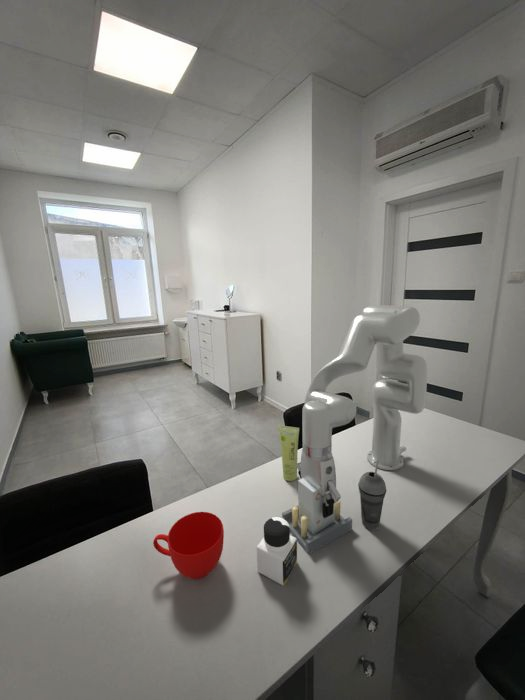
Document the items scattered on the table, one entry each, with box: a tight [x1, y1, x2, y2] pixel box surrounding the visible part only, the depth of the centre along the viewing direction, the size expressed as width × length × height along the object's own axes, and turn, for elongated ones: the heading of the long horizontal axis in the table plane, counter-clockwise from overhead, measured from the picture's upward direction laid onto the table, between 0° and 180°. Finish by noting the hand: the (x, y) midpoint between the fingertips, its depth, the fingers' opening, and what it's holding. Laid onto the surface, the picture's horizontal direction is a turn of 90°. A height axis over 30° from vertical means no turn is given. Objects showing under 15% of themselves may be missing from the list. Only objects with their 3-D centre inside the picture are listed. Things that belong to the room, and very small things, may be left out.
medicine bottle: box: [256, 516, 298, 586], centre depth 71 cm, size 7×7×12 cm
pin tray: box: [281, 499, 353, 555], centre depth 83 cm, size 15×12×7 cm
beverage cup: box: [357, 461, 387, 531], centre depth 82 cm, size 7×7×20 cm
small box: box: [297, 478, 335, 535], centre depth 83 cm, size 8×6×13 cm
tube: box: [278, 424, 300, 482], centre depth 103 cm, size 6×5×20 cm
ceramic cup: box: [152, 511, 225, 580], centre depth 72 cm, size 13×17×10 cm
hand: (316, 504), depth 82 cm, fingers open, 8 cm apart
